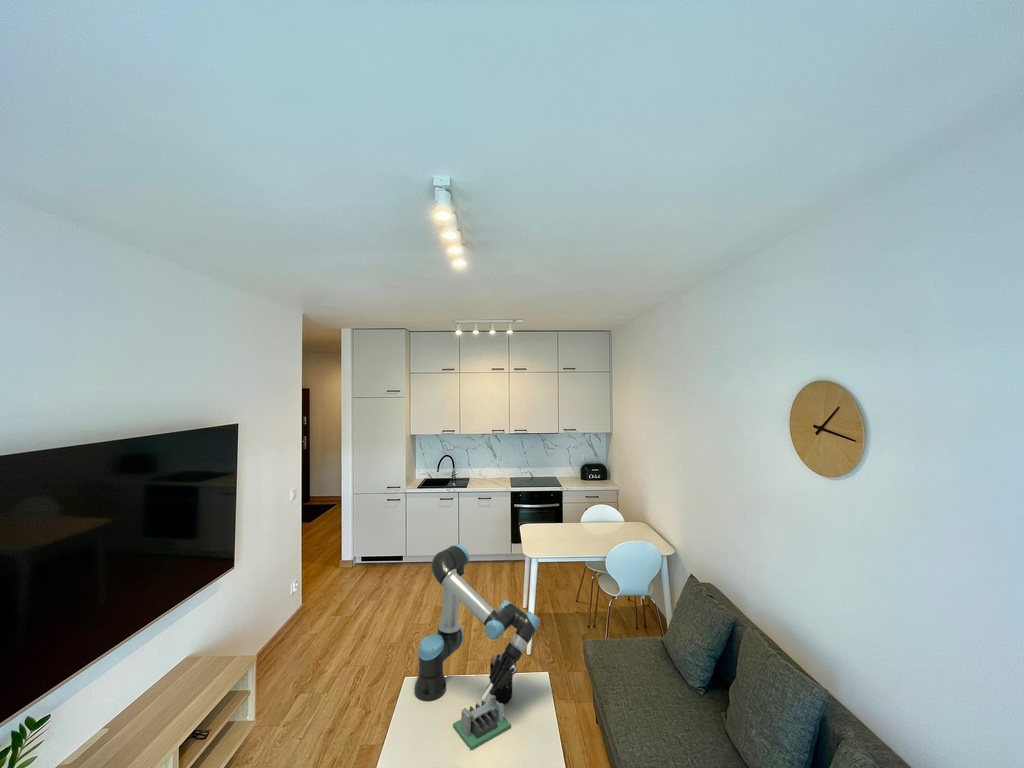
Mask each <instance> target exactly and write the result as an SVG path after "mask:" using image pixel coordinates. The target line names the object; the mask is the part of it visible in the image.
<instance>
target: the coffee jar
mask: <svg viewBox="0 0 1024 768" xmlns="http://www.w3.org/2000/svg"><path fill="white" fill-rule="evenodd" d="M504 652H505V651H498V652H494V653H493V654H492V655H491V656H490V665H489V667H490V668H489V669H490V670H489V673H491V671H492V668H493V666H494V664H495V661H496V657H497V655H498V654H499V655H502V654H503V653H504ZM513 676H514V675H512V677H511V678H510V679H509V680H508V681H507V683H506V684H505V685H504V686H503V687H502V689H500V688H497V689H496V691H495V693H494V694H493V695H494V696H495V697H496V700H497V701H498V702H499V703H502V704H503V705H506V704H508V703H510V702H511V700H512V698H513ZM493 695H492V696H493Z"/></svg>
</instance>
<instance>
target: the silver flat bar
mask: <svg viewBox="0 0 1024 768" xmlns="http://www.w3.org/2000/svg"><path fill="white" fill-rule="evenodd" d="M485 703H486V704H484V705H482V706H481V705H480V707H479V708H477V709H476V708H474V709H475V710H473V711H471V712H470V709H467V710H468V711H469V712H470V714H471V715H472V717H471V721H474V720H475V719H477V718H479V717H481V716H483V715H485V714H486V713H488V712H490V711H492V710H494V709H495V708H496V709H498V704H500V703H499V702H498V701H497V700H496V699H493V700H492V701H490V700H489V701H488V703H487V702H485Z"/></svg>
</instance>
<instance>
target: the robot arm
mask: <svg viewBox="0 0 1024 768" xmlns="http://www.w3.org/2000/svg"><path fill="white" fill-rule="evenodd" d="M469 561H470V555H469V551H468V550H467V549H466V547H465V546H464V545H462V544H459V543H457V544H453V545H451V546H449V547H447V548H446V549H443V550H441V551H439V552H438V553H436V554H435V555H434V557H433V558H432V561H431V572H432V575H433V576H434V578H435V579H436V581H437V582H438V584H439V585H441V587H443V589H442V605H441V618H440V622H439V623H438V624H437V633H432V634H431V635H430V634H429V635H428V634H427V636H425V637H424V638H423V639H422V640H421V641H420V643H419V646H418V647H419V648H418V674H417V679H416V681H415V684H414V696H415V697H416V698H417V699H418V700H421V701H424V702H432V701H435V700H438V699H440V698H441V697H443V696H444V694H445V693H446V691H447V681H446V677H445V674H444V662H445V661H446V660H447V659H448V658H449V657H450V656H451V655H453V654H454V653H455V652H456V651H458V650H459V648H460V647H461V646H462V645H463V643H464V639H465V635H464V630H463V628H462V626H461V623H460V622H459V611H460V610H459V609H460V602H461V603H462V604H463V605H464V606H465V607H466V608H467V609H468V610H469V611H470V612H471V613H472V614H473V616H475V617H476V618H477V620H479V622H481V623H482V625H483V626H484V632H485V634H486V636H487V637H488V638H489V639H490V640H492V641H493V640H498V638H500V637H501V636H503V635H504V633H505V632H506V631H507V630H508V629H510V627H511V626H512V627H513V628H514V629H516V630H515V632H514V634H513V636H512V637H511V638H510V642H508V643H507V644H506V647H505V649H504V651H503V652H504V653H503V654H502V655H499V654H498V655H497V657H496V661H495V664H494V666H493V668H492V671H491V673H490V672H489V673H490V674H489V675H488V678H489V683H488V684H487V686H486V690H485V692H484V693H483V695H482V696H481V698H482V701H484V702H485V703H488V702H490V697H491V696H492V695H493V694H494V693H495V691H496V689H497V688H500V689H502V687H503V686H504V685H505V684H506V683H507V681H508V680H509V679H510V678H511V677H512V675H513V676H514V675H515V674H516V673H517V672H518V671H517V669H516V666H517V665H516V664H517V662H518V661H520V658H521V657H522V655H523V652H524V651H525V650H526V648H527V646H528V645H529V643H530V642H531V640H532V639H533V637H534V635H535V633H536V631H537V629H538V628H539V626H540V625H541V620H540V618H539V617H538V616H537V615H535V614H534V613H533V612H531V611H530V610H529V611H526V613H525V612H524V611H522V610H521V609H520V608H518V607H517V606H516V605H515V604H514V603H513V602H510V601H509V600H508V599H505V600H503V601H502V602H501V604H499V607H498V609H497V611H496V610H495V609H494V608H493V607H492V606H491V605H490V604H489V603H488V602H487V600H485V599H484V598H483V597H482V596H481V595H480V594H478V592H476V590H475V589H474V588H473V587H471V585H469V583H467V582H466V581H465V580H464V579H463V578H462V577H463V576H464V575H465V569H466V568H465V566H467V564H468V563H469Z"/></svg>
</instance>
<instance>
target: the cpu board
mask: <svg viewBox="0 0 1024 768" xmlns="http://www.w3.org/2000/svg"><path fill="white" fill-rule="evenodd" d="M493 699H496V697H495V696H494V695H493V696H491V697H490V699H489V702H490V701H492V700H493ZM486 703H487V702H486V701H484V700H481V703H480V704H481V705H479V703H478V702H477V703H476V704H475V708H474V707H473V706H472V705H471V706H469V709H467V707H465V708H463V709H461V718H460V719H459V720H457V721H455V722H453V724H452V728H453V729H454V731H455V733H457V734H458V735H459V737H460V739H461V740H462V741H463V742H464V744H465V743H466V744H465V745H466V747H467V748H468V747H469V748H470V749H469V748H468V749H469V750H470V751H471V750H472V751H474V750H475V749H477V748H478V747H480V746H483V745H484V744H487V742H489V741H491V740H492V739H495V738H496V737H497V736H498V737H499V736H500V735H501V734H503V733H505V732H507V731H509V730H510V729H512V724H511V723H510V721H509V720H508V719H507V718H506V717H505V716H504V704H502V703H500V704H498V707H497V708H495V709H494V710H492V711H490V712H488V713H486V714H485V715H483V716H481V717H479V718H477V719H475V720H474V721H471V717H472V715H471V714H470V712H471V711H473V710H475V709H477V708H479V707H480V706H482V705H484V704H486ZM468 710H469V711H470V712H469V711H468Z"/></svg>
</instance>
